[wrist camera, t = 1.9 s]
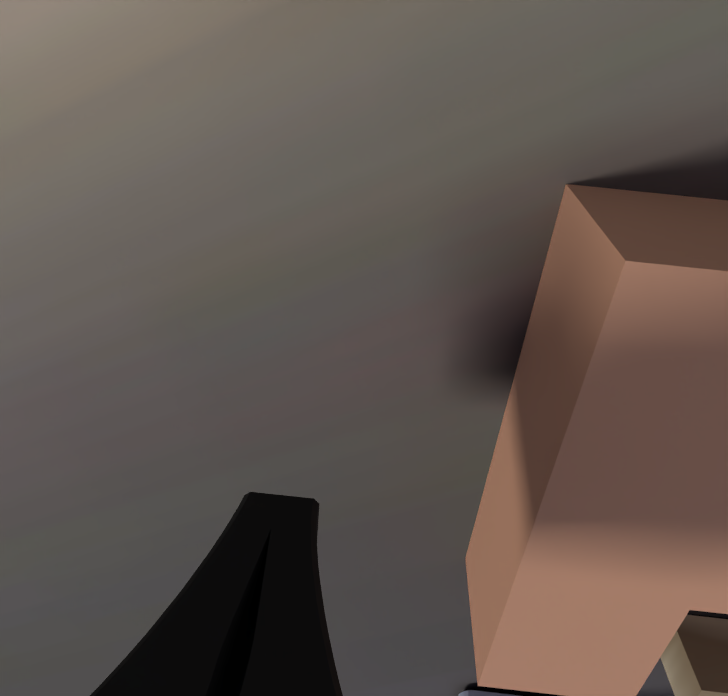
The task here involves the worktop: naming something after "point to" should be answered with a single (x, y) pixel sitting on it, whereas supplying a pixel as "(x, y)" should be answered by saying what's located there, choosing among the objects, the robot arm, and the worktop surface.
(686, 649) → the nest
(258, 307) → the worktop surface
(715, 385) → the tee
